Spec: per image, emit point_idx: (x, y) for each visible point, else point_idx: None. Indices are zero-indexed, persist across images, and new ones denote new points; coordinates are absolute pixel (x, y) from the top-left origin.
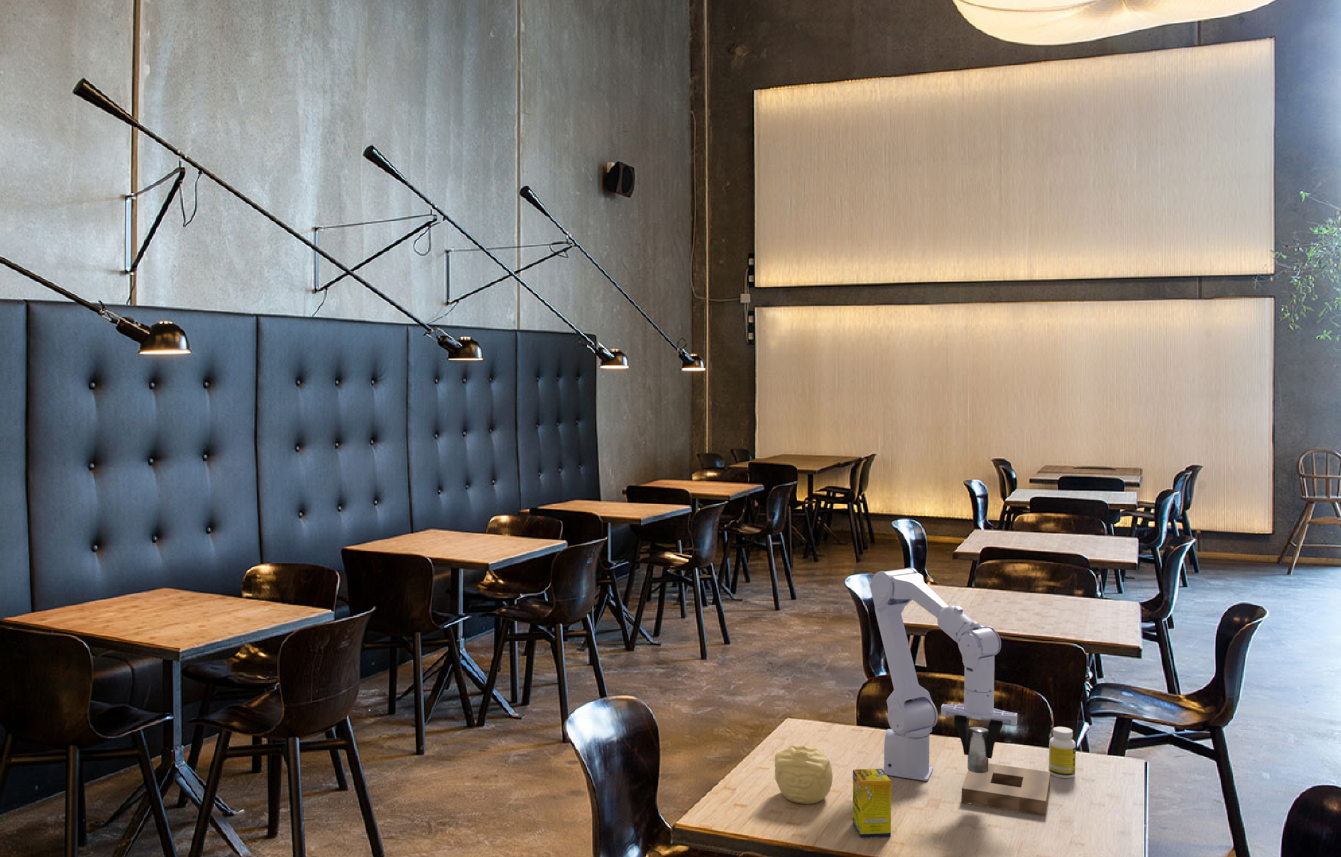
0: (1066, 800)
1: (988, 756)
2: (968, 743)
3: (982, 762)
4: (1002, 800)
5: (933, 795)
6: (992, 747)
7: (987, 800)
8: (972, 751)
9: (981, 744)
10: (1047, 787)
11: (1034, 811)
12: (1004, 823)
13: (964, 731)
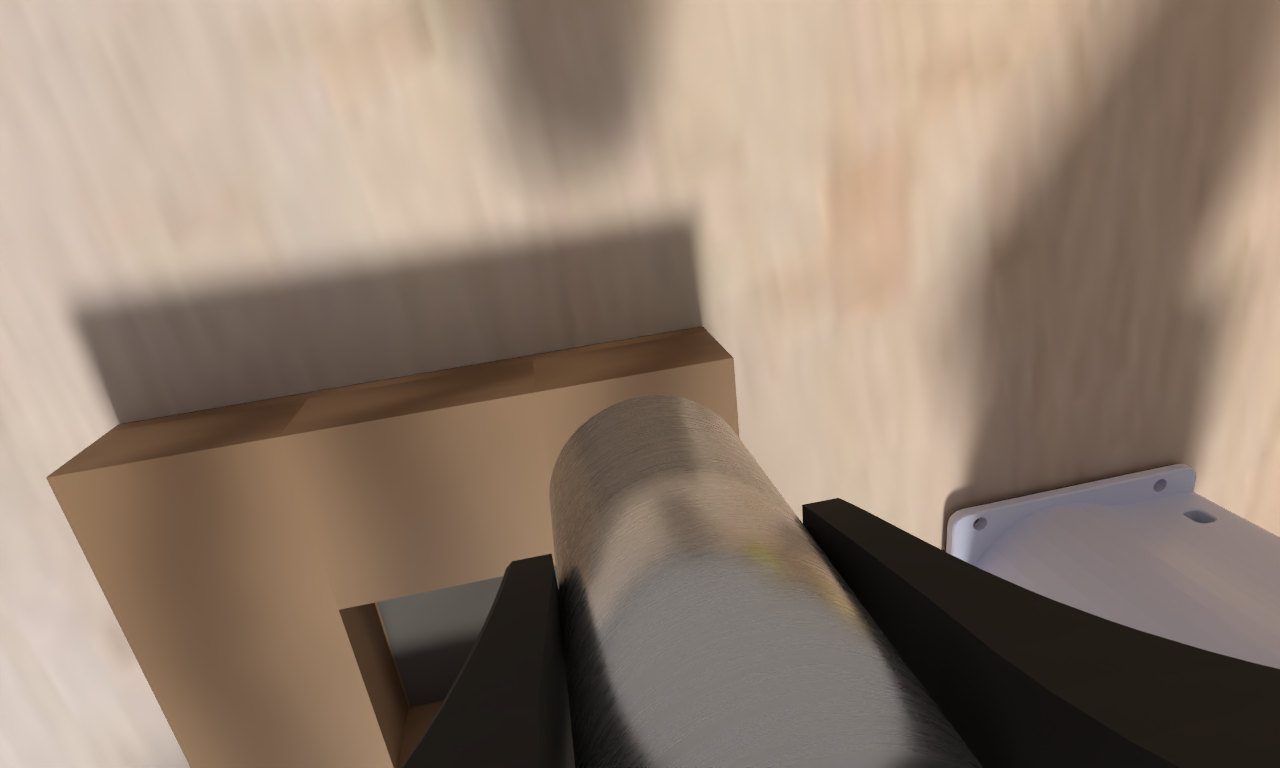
0: (124, 723)
1: (540, 563)
2: (865, 611)
3: (598, 473)
4: (422, 396)
5: (886, 343)
6: (473, 660)
7: (532, 369)
8: (759, 509)
9: (657, 617)
10: (169, 715)
11: (192, 417)
12: (325, 126)
13: (1101, 698)
